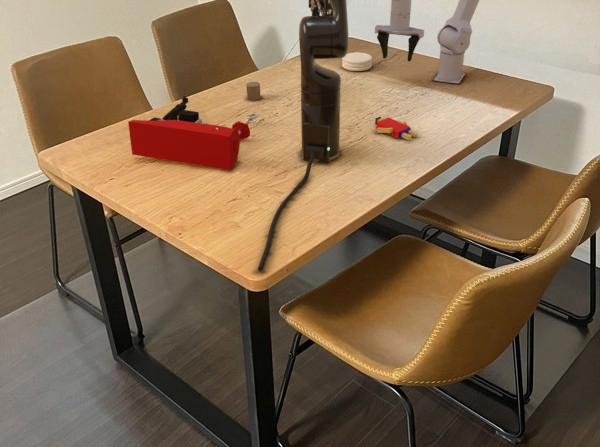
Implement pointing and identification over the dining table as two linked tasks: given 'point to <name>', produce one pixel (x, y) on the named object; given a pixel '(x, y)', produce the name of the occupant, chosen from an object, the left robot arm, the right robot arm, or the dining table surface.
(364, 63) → the white ridged disc
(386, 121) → the toy figure
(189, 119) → the electric hoist
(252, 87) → the canister
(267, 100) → the dining table surface
